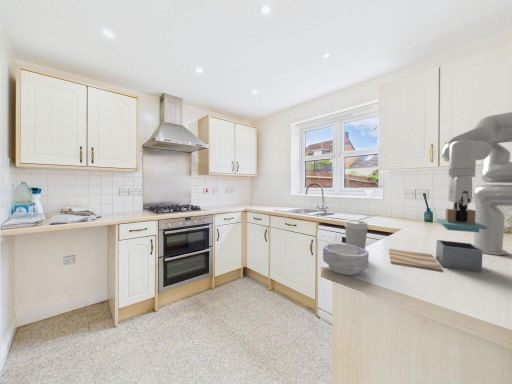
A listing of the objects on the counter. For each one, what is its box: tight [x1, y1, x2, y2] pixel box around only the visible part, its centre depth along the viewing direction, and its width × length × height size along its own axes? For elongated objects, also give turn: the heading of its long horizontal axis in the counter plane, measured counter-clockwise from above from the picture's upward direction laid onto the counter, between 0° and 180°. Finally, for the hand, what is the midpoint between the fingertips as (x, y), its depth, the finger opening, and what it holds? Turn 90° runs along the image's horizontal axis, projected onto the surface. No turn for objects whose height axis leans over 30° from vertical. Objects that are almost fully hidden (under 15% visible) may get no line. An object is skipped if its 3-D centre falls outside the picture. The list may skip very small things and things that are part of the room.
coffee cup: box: [343, 220, 370, 250], centre depth 96 cm, size 10×10×15 cm
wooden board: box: [388, 248, 443, 272], centre depth 94 cm, size 20×16×1 cm
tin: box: [435, 239, 484, 274], centre depth 87 cm, size 11×11×8 cm
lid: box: [436, 208, 487, 233], centre depth 87 cm, size 12×12×8 cm
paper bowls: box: [322, 242, 369, 276], centre depth 81 cm, size 15×15×8 cm
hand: (459, 220), depth 87 cm, fingers closed on lid, 3 cm apart
